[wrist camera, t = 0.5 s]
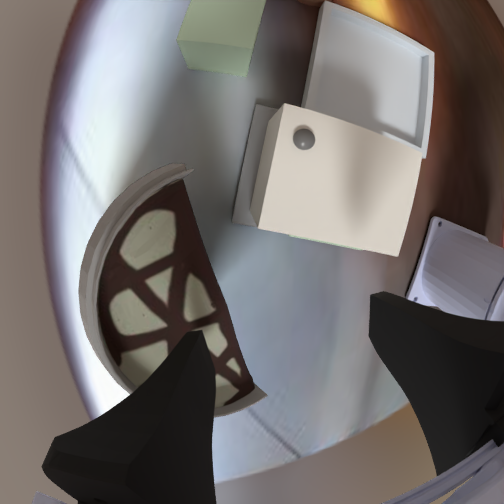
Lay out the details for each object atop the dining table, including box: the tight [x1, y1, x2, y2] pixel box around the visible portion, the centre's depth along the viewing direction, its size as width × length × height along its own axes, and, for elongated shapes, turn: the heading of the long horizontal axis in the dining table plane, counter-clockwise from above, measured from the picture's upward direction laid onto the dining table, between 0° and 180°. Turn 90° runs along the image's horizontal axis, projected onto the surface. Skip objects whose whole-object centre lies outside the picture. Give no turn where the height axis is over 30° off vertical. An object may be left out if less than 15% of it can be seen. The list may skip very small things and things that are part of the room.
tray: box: [301, 0, 434, 158], centre depth 15 cm, size 10×10×1 cm
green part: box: [176, 0, 266, 77], centre depth 13 cm, size 4×4×5 cm
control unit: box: [232, 103, 422, 257], centre depth 15 cm, size 10×8×6 cm
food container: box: [79, 163, 268, 417], centre depth 14 cm, size 12×6×10 cm
